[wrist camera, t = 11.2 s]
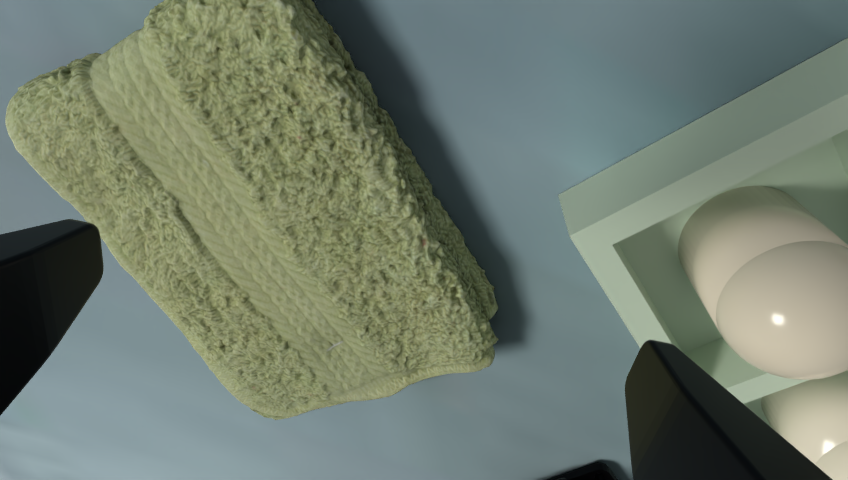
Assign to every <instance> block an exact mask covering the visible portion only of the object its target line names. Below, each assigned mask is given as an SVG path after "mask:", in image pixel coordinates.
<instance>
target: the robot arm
mask: <svg viewBox="0 0 848 480" xmlns="http://www.w3.org/2000/svg"><path fill="white" fill-rule="evenodd" d="M102 274H103V258H102V248H101V239H100V232H99V229H98V228H97V226H95V225H94V224H92V223H88V222H83V221H78V220H73V219H67V220H62V221H58V222H53V223H49V224H45V225H40V226H36V227H32V228H27V229H23V230H18V231H14V232H10V233H5V234H1V235H0V415H1V414H2V413H3V412H4V411H5V409H6V408H7V407H8V406H9V405H10V403H11V402H12V401H13V400H14V399H15V397H16V396H17V395H18V394H19V393H20V392H21V390H22V389H23V388H24V387H25V386H26V384H27V383H28V382H29V381H30V380H31V378H32V377H33V376H34V375H35V374H36V372H37V371H38V370H39V369H40V368H41V366H42V365H43V364H44V363H45V361H46V360H47V359H48V357H49V356H50V355H51V353H52V352H53V351H54V349H55V348H56V347H57V345H58V344H59V342H60V341H61V339H62V338H63V336H64V335H65V333H66V332H67V330H68V329H69V327H70V326H71V324H72V323H73V321H74V320H75V318H76V317H77V315H78V314H79V312H80V311H81V309H82V308H83V306H84V305H85V303H86V302H87V300H88V299H89V297H90V296H91V294H92V293H93V291H94V290H95V288H96V287H97V285H98V284H99V282H100V280H101V278H102ZM625 397H626V408H627V420H628V431H629V442H630V454H631V464H632V473H633V479H634V480H833V479H831V478H830V477H829V476H828V475H827V474H826V473H824V472H823V471H822V470H821V469H820V468H818V467H817V466H816V465H815V464H814V463H813V462H811V461H810V460H809V459H808V458H807V457H805V456H804V455H803V454H802V453H801V452H800V451H798V450H797V449H796V448H795V447H794V446H793V445H791V444H790V443H789V442H788V441H787V440H785V439H784V438H783V437H782V436H781V435H780V434H778V433H777V432H776V431H775V430H774V429H772V428H771V427H770V426H769V425H768V424H767V423H765V422H764V421H763V420H762V419H761V418H759V417H758V416H757V415H756V414H755V413H754V412H752V411H751V410H750V409H749V408H748V407H747V406H745V405H744V404H743V403H742V402H741V401H739V400H738V399H737V398H736V397H735V396H734V395H732V394H731V393H730V392H729V391H728V390H727V389H725V388H724V387H723V386H722V385H721V384H719V383H718V382H717V381H716V380H715V379H714V378H712V377H711V376H710V375H709V374H708V373H706V372H705V371H704V370H703V369H702V368H701V367H699V366H698V365H697V364H696V363H695V362H694V361H692V360H691V359H690V358H689V357H688V356H686V355H685V354H684V353H683V352H682V351H681V350H679V349H678V348H677V347H676V346H675V345H673V344H670V343H666V342H661V341H656V340H648V341H645V342H644V344H643V345H642V347H641V349H640V351H639V353H638V355H637V357H636V359H635V361H634V363H633V365H632V368H631V370H630V372H629V374H628V376H627V379H626V384H625ZM598 473H599V474H598ZM549 480H618V479H617V478H616V476H615V475H614V474H613V472H612V471H611V470H610V468H609V467H608V466H607V465H606V464H603V463H594V464H591V465H588V466H586V467H583V468H580V469H577V470H574V471H572V472H569V473H566V474H563V475H560V476H558V477H555V478H552V479H549Z"/></svg>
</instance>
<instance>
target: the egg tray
mask: <svg viewBox="0 0 848 480" xmlns="http://www.w3.org/2000/svg"><path fill="white" fill-rule="evenodd" d="M744 186H766V187H772V188H775V189H779V190H781V191H783V192H786V193H787V194H789V195H790V196H792V197H793V198H794V199H795V200H797V201H798V202H799V203H800V204H801V205H802V206H803V207H805V208H806V209H807V210H808V211H809V212H810V213H812V214H813V215H814V216H815V217H816V218H817V219H818V220H820V221H821V222H822V223H823V224H824V225H825V226H826V227H828V228H829V229H830V230H831V231H832V232H833V233H834V234H836V235H837V236H838V237H839V238H840V239H841V240H843V241H844V242H845V243H846V244H847V245H848V38H847V39H845V40H843V41H841V42H839V43H837V44H835V45H834V46H832V47H830V48H828V49H826V50H824V51H823V52H821V53H819V54H817V55H815V56H813V57H812V58H810V59H808V60H806V61H804V62H802V63H800V64H799V65H797V66H795V67H793V68H791V69H789V70H788V71H786V72H784V73H782V74H780V75H778V76H777V77H775V78H773V79H771V80H769V81H767V82H765V83H764V84H762V85H760V86H758V87H756V88H754V89H753V90H751V91H749V92H747V93H745V94H743V95H742V96H740V97H738V98H736V99H734V100H732V101H730V102H729V103H727V104H725V105H723V106H721V107H719V108H718V109H716V110H714V111H712V112H710V113H708V114H707V115H705V116H703V117H701V118H699V119H697V120H695V121H694V122H692V123H690V124H688V125H686V126H684V127H683V128H681V129H679V130H677V131H675V132H673V133H672V134H670V135H668V136H666V137H664V138H662V139H660V140H659V141H657V142H655V143H653V144H651V145H649V146H648V147H646V148H644V149H642V150H640V151H638V152H636V153H635V154H633V155H631V156H629V157H627V158H625V159H624V160H622V161H620V162H618V163H616V164H614V165H613V166H611V167H609V168H607V169H605V170H603V171H601V172H600V173H598V174H596V175H594V176H592V177H590V178H589V179H587V180H585V181H583V182H581V183H579V184H578V185H576V186H574V187H572V188H570V189H568V190H566V191H565V192H563V193H561V194H559V195H558V196H559V200H560V203H561V207H562V211H563V214H564V218H565V222H566V225H567V229H568V233H569V236H570V238H571V239H572V241H573V243H574V244H575V246H576V247H577V249H578V250H579V252H580V254H581V255H582V257H583V258H584V260H585V261H586V263H587V265H588V266H589V268H590V269H591V271H592V273H593V274H594V276H595V277H596V279H597V280H598V282H599V284H600V285H601V287H602V288H603V290H604V291H605V293H606V295H607V296H608V298H609V299H610V301H611V302H612V304H613V306H614V307H615V309H616V310H617V312H618V314H619V315H620V317H621V318H622V320H623V321H624V323H625V325H626V326H627V328H628V329H629V331H630V332H631V334H632V336H633V337H634V339H635V340H636V342H637V344H638V345H639V347H640V348H641V347H642V345H643V344H644V342H645V341H648V340H656V341H661V342H666V343H670V344H673V345H675V346H676V347H677V348H678V349H679V350H681V351H682V352H683V353H684V354H685V355H686V356H688V357H689V358H690V359H691V360H692V361H694V362H695V363H696V364H697V365H698V366H699V367H701V368H702V369H703V370H704V371H705V372H706V373H708V374H709V375H710V376H711V377H712V378H714V379H715V380H716V381H717V382H718V383H719V384H721V385H722V386H723V387H724V388H725V389H727V390H728V391H729V392H730V393H731V394H732V395H734V396H735V397H736V398H737V399H738V400H739V401H741V402H742V403H743V404H744V405H745V406H747V407H748V408H749V409H750V410H751V411H752V412H754V413H755V414H756V415H757V416H758V417H759V418H761V419H762V420H763V421H764V422H765V423H767V424H768V425H769V426H770V424H769V422H768V420H767V419H766V417H765V415H764V413H763V411H762V407H761V398H762V397H764V396H767V395H769V394H772V393H775V392H778V391H780V390H783V389H786V388H789V387H791V386H794V385H797V384H800V383H802V382H805V381H808V380H799V379H789V378H784V377H779V376H776V375H772V374H769V373H767V372H764V371H762V370H760V369H758V368H756V367H754V366H752V365H751V364H749V363H748V362H746V361H745V360H743V359H742V358H741V357H740V356H738V355H737V354H736V353H735V352H734V351H733V350H732V349H731V348H730V347H729V345H728V344H727V343H726V341H725V340H724V338H723V337H722V335H721V334H720V332H719V330H718V329H717V327H716V325H715V323H714V322H713V320H712V318H711V316H710V315H709V313H708V311H707V310H706V308H705V306H704V304H703V303H702V301H701V299H700V297H699V296H698V294H697V292H696V291H695V289H694V287H693V285H692V284H691V282H690V280H689V279H688V277H687V275H686V273H685V272H684V270H683V268H682V266H681V264H680V260H679V257H678V243H679V238H680V235H681V232H682V229H683V228H684V226H685V224H686V222H687V221H688V219H689V218H690V217H691V215H692V214H693V213H694V212H695V211H696V210H697V209H698V208H699V207H700V206H702V205H703V204H704V203H705V202H707V201H708V200H710V199H711V198H713V197H715V196H717V195H719V194H721V193H723V192H726V191H728V190H731V189H735V188H739V187H744ZM770 427H771V426H770ZM771 428H772V427H771Z"/></svg>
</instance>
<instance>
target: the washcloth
mask: <svg viewBox="0 0 848 480" xmlns="http://www.w3.org/2000/svg"><path fill="white" fill-rule="evenodd" d="M18 89H19V90H18V92H17V93H16V94H15V95H14V96H13V97H12V99H11V100H10V101H9V104H8V107H7V112H6V127H7V130H8V134H9V136H10V138H11V139H12V141H13V143H14V145H15V149H16V150H17V151H18V152H19V153H20V154H21V155H22V156H23V157H24V158H25V159H26V160H27V162H28V163H29V164H30V165H31V166H32V167H33V168H34V169H35V170H36V172H37V173H38V174H39V175H40V176H41V177H42V178H43V179H44V180H45V181H46V182H47V183H48V184H49V185H50V186H51V187H52V188H53V189H54V190H55V191H56V192H57V193H58V194H59V195H60V196H61V197H62V198H64V199H65V200H67V201H68V202H70V203H71V204H72V205H73V206H74V207H75V208H76V209H77V210H78V211H79V212H80V213H81V215H82V216H83V217H84V219H85V220H86V221H87V222H88V223H92V224H94V225H95V226H97V228H98V229H99V232H100V237H101V239H102V240H104V242H105V243H106V245H107V246H108V248H109V250H110V251H111V253H112V254H113V256H114V257H115V258H116V259H117V261H118V262H119V264H120V265H121V266H122V267H123V268H124V269H125V270H126V271H127V272H128V273H129V274H130V275H131V276H132V277H133V278H134V279H135V280H136V281H137V282H138V283H139V284H140V286H141V287H142V288H143V289H144V290H145V291H146V292H147V294H148V295H149V296H150V297H151V298H152V299H153V300H154V301H155V302H156V304H157V305H158V306H159V307H160V308H161V309H162V310H163V311H164V312H165V313H166V314H167V315H168V317H169V318H170V319H171V320H172V321H173V322H174V323H175V325H176V326H177V327H178V328H179V329H180V330H181V331H182V332H183V334H184V335H185V336H186V337H187V339H188V341H189V342H190V343H191V345H192V347H193V348H194V349H195V350H196V351H197V352H198V353H199V354H200V356H201V357H202V358H203V359H204V361H205V362H206V364H207V365H208V367H209V369H210V370H211V371H212V372H213V373H214V374H215V375H216V377H217V378H218V379H219V381H220V382H221V383H222V384H223V385H224V386H225V387H226V389H227V390H228V391H229V392H230V393H231V394H232V395H233V396H235V397H236V398H237V399H238V400H239V401H240V402H242V403H243V404H245V405H247V406H248V407H250V409H251V410H253V411H255V412H257V413H258V414H260V415H262V416H263V417H267V418H273V419H275V420H278V419H284V418H289V417H293V416H297V415H299V414H302V413H305V412H308V411H310V410H314V409H319V408H324V407H326V406H328V407H330V406H332V405H337V404H343V403H346V402H350V401H364V400H372V399H379V398H383V397H389V396H391V395H393V394H396V393H397V392H399V391H401V390H402V389H403V388H405V387H407V386H408V385H410V384H414V383H416V382H418V381H420V380H424V379H427V378H431V377H434V376H439V375H443V374H449V373H467V372H476V371H479V370H482V369H483V368H486V367H489V366H490V365H491V364H492V362H493V359H494V355H495V351H494V348H493V345H494V344H495V343H496V342H497V341H498V338H496V336H495V334H494V332H493V330H492V328H491V327H490V323H489V321H488V320H490V319H491V318H492V317H493V316H494V314H495V313H496V311H497V309H498V305H497V302H496V299H495V296H494V293H493V290H494V289H495V288H494V286H492V285H491V284H490V283H489V281H488V280H487V278H486V276H485V274H484V273H485V270H483V269H481V267H479V266H478V264H477V261H476V259H475V257H474V256H473V255H471V253H470V251H469V250H468V248H467V247H466V246H465V243H464V237H463V236H462V235H461V232H460V230H459V229H458V228H457V227H456V226H455V224H454V223H453V221H452V220H451V218H450V217H449V216H448V213H447V212H446V211H445V210H444V209H443V207H442V206H441V202H440V200H438V199H437V198H435V197H434V195H433V194H432V185H431V184H430V182H429V180H428V179H427V178H426V177H425V173H424V172H423V171H422V170H421V168H420V166H419V165H418V164H417V163H416V160H415V159H416V158H415V157H414V156H413V155H412V151H411V149H409V148H408V147H407V146H406V145H405V144H404V142H403V140H402V138H398V137H399V135H398V133H397V131H396V127H395V126H394V123H393V121H392V119H391V118H390V116H389V114H388V113H387V111H386V110H384V109H382V108H380V107H379V106H378V103H377V97H376V95H375V94H374V93H373V92H372V91H373V89H372V88H371V83H370V82H369V81H368V79H367V78H366V76H365V74H364V73H363V72H361V71H358V70H357V69H355V67H354V64H353V62H352V61H351V57H350V53H349V52H347V51H346V50H345V48H344V46H343V44H342V41H341V39H340V38H339V36H338V35H337V34H335V33H334V32H333V27H332V26H331V25H329V24H328V23H327V21H326V20H325V19H324V18H323V15H320V14H319V12H318V10H317V9H316V8H315V4H314V2H313V1H312V0H164V1H163V2H161V3H159V4H158V5H157V6H155V8H154V9H152V10H150V13H149V15H148V16H147V17H146V18H145V20H144V27H143V28H142V29H140V30H137V31H135V32H133V33H132V34H130V35H129V36H128V37H126V38H125V39H123V40H122V41H120V42H119V43H117V44H116V45H115V46H113V47H112V48H111V49H110V50H108V51H106V52H105V53H104V54H99V53H94V54H89V55H87V56H85V57H84V58H83V59H76V60H75V61H72V62H71V63H70V64H68V65H67V67H65V66H62V67H59V68H58V69H56V70H53V71H52V72H49V73H46V74H42V75H39V76H38V77H36V78H34V79H33V80H31V81H29V82H27V83H26V84H25V85H23V86H21V87H19V88H18Z"/></svg>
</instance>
